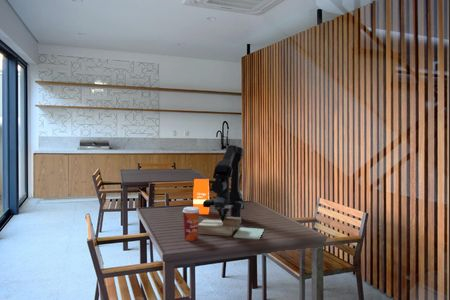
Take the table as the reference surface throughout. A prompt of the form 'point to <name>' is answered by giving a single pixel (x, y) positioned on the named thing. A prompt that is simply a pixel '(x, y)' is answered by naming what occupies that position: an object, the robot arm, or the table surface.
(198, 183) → the orange juice
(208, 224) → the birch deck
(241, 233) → the sage mat
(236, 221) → the walnut block
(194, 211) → the paper cup
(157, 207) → the table surface
